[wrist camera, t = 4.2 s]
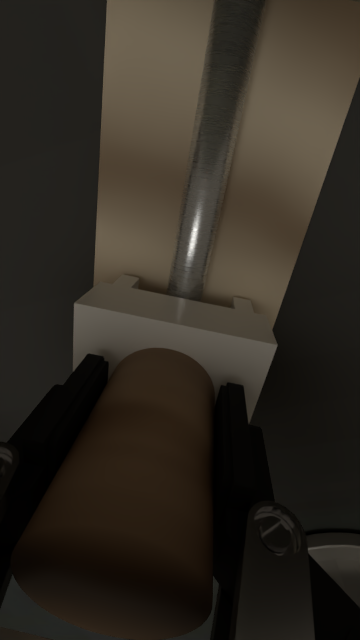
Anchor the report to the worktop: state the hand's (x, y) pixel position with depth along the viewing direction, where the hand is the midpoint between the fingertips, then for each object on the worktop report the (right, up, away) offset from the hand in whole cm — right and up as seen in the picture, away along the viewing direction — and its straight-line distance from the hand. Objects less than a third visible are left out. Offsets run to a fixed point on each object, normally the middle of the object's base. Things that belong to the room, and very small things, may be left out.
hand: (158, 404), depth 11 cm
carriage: (0, +2, +4) cm, 5 cm away
